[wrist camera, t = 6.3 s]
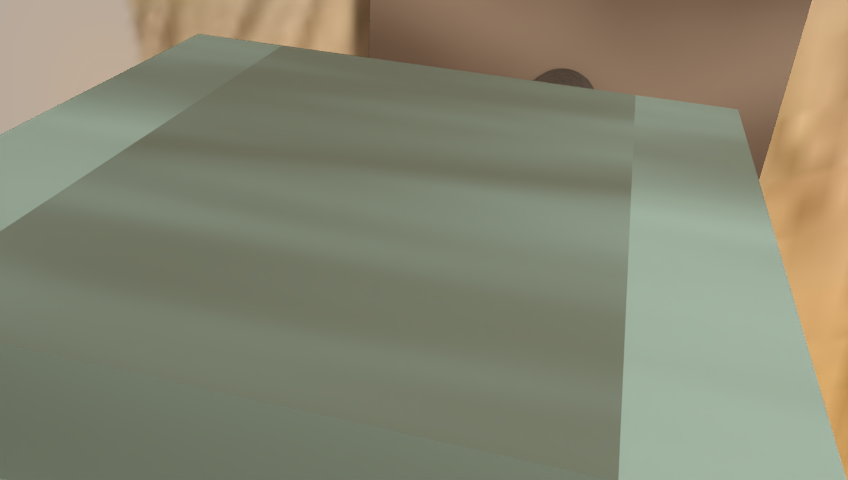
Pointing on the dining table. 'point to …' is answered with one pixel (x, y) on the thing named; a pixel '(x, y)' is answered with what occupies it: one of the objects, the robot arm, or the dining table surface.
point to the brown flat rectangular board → (612, 47)
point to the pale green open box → (392, 281)
